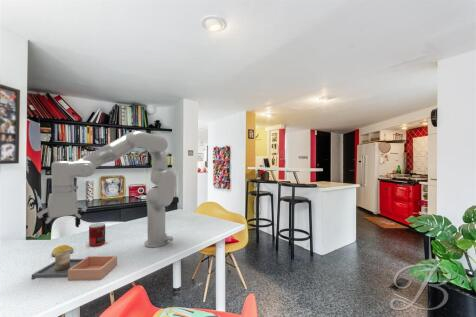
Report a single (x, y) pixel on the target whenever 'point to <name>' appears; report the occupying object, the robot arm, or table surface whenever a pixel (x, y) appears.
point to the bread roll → (62, 249)
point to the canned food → (96, 234)
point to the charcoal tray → (50, 270)
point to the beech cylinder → (62, 261)
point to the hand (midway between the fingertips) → (63, 229)
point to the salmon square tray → (92, 268)
